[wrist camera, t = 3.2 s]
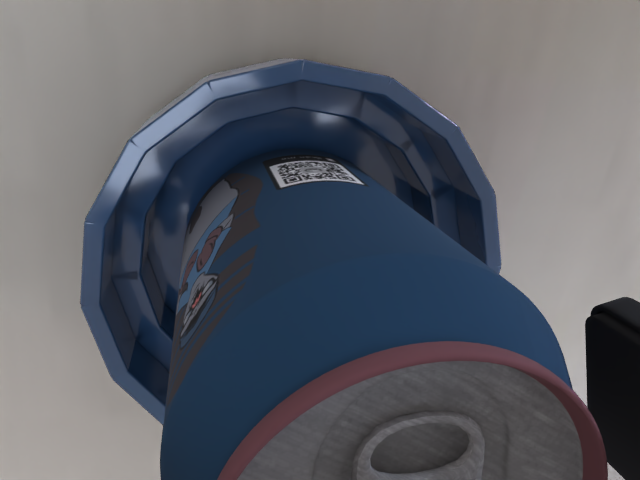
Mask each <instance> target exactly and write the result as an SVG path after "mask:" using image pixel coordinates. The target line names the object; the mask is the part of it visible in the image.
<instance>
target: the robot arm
mask: <svg viewBox="0 0 640 480" xmlns="http://www.w3.org/2000/svg"><path fill="white" fill-rule="evenodd" d="M585 333H586V369H587V406H588V410H589V411H590V413H591V414H592V416H593V418H594V420H595V422H596V424H597V426H598V428H599V431H600V434H601V436H602V439H603V443H604V447H605V451H606V458H607V462H608V463H609V464H610V465H611V466H612V467H613V468H614V469H615V470H616V471H617V472H618V473H619V474H620V475H621V476H622V477H623V478H624V479H625V480H640V303H639V302H637V301H635V300H634V299H631V298H628V297H622V298H619V299H616V300H613V301H610V302H607V303H603V304H600V305H597V306H595V307H594V308H593V309H592V311H591V316H590V317H588V318H587V320H586V324H585Z"/></svg>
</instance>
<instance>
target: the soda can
mask: <svg viewBox="0 0 640 480" xmlns="http://www.w3.org/2000/svg"><path fill="white" fill-rule="evenodd" d="M160 472H161V480H608V469H607V458H606V451H605V447H604V443H603V439H602V436H601V434H600V431H599V428H598V426H597V424H596V422H595V420H594V418H593V416H592V414H591V413H590V411H589V410H588V408H587V407H586V405H585V404H584V403H583V401H582V400H581V399H580V398H579V397H578V395H577V394H576V393H575V392H574V391H573V389H572V385H571V381H570V378H569V374H568V370H567V367H566V363H565V360H564V356H563V353H562V351H561V348H560V346H559V343H558V341H557V338H556V336H555V334H554V332H553V331H552V329H551V327H550V325H549V324H548V322H547V321H546V319H545V318H544V316H543V315H542V313H541V312H540V311H539V310H538V308H537V307H536V306H535V305H534V304H533V303H532V302H531V301H530V300H529V299H528V298H527V297H526V296H525V295H524V294H523V293H522V292H521V291H520V290H518V289H517V288H516V287H515V286H513V285H512V284H511V283H510V282H508V281H507V280H506V279H504V278H503V277H502V276H500V275H499V274H498V273H496V272H495V271H494V270H492V269H491V268H490V267H488V266H487V265H486V264H485V263H483V262H482V261H481V260H479V259H478V258H477V257H475V256H474V255H473V254H471V253H470V252H469V251H467V250H466V249H465V248H463V247H462V246H461V245H459V244H458V243H457V242H456V241H454V240H453V239H452V238H450V237H449V236H448V235H446V234H445V233H444V232H442V231H441V230H440V229H438V228H437V227H436V226H434V225H433V224H432V223H431V222H429V221H428V220H427V219H425V218H424V217H423V216H421V215H420V214H419V213H417V212H416V211H415V210H413V209H412V208H411V207H409V206H408V205H407V204H405V203H404V202H403V201H402V200H400V199H399V198H398V197H396V196H395V195H394V194H392V193H391V192H390V191H388V190H387V189H386V188H384V187H383V186H382V185H380V184H379V183H378V182H377V181H375V180H374V179H373V178H371V177H370V176H369V175H367V174H366V173H365V172H363V171H362V170H361V169H359V168H358V167H356V166H355V165H354V164H352V163H350V162H348V161H347V160H344V159H342V158H340V157H338V156H335V155H333V154H330V153H326V152H322V151H317V150H311V149H296V148H295V149H282V150H275V151H271V152H267V153H263V154H260V155H257V156H255V157H252V158H250V159H248V160H245V161H243V162H241V163H240V164H238V165H236V166H235V167H233V168H232V169H230V170H229V171H227V172H226V173H225V174H224V175H222V176H221V177H220V178H219V179H218V180H217V181H216V182H215V183H214V184H213V185H212V186H211V187H210V188H209V189H208V190H207V192H206V193H205V194H204V195H203V197H202V198H201V200H200V201H199V203H198V204H197V206H196V208H195V210H194V212H193V214H192V216H191V219H190V221H189V224H188V227H187V230H186V235H185V240H184V246H183V255H182V264H181V273H180V282H179V291H178V300H177V309H176V317H175V326H174V335H173V344H172V353H171V362H170V371H169V380H168V389H167V397H166V406H165V415H164V424H163V433H162V442H161V454H160Z"/></svg>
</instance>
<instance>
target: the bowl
mask: <svg viewBox="0 0 640 480" xmlns="http://www.w3.org/2000/svg"><path fill="white" fill-rule="evenodd" d="M295 148H296V149H311V150H317V151H322V152H326V153H330V154H333V155H335V156H338V157H340V158H342V159H344V160H347V161H348V162H350V163H352V164H354V165H355V166H356V167H358V168H359V169H361V170H362V171H363V172H365V173H366V174H367V175H369V176H370V177H371V178H373V179H374V180H375V181H377V182H378V183H379V184H380V185H382V186H383V187H384V188H386V189H387V190H388V191H390V192H391V193H392V194H394V195H395V196H396V197H398V198H399V199H400V200H402V201H403V202H404V203H405V204H407V205H408V206H409V207H411V208H412V209H413V210H415V211H416V212H417V213H419V214H420V215H421V216H423V217H424V218H425V219H427V220H428V221H429V222H431V223H432V224H433V225H434V226H436V227H437V228H438V229H440V230H441V231H442V232H444V233H445V234H446V235H448V236H449V237H450V238H452V239H453V240H454V241H456V242H457V243H458V244H459V245H461V246H462V247H463V248H465V249H466V250H467V251H469V252H470V253H471V254H473V255H474V256H475V257H477V258H478V259H479V260H481V261H482V262H483V263H485V264H486V265H487V266H488V267H490V268H491V269H492V270H494V271H495V272H496V273H498V274H499V273H500V269H501V255H500V243H499V231H498V219H497V207H496V195H495V194H494V193H495V192H494V190H493V188H492V186H491V184H490V183H489V181H488V179H487V177H486V175H485V173H484V172H483V170H482V168H481V166H480V164H479V162H478V161H477V159H476V157H475V155H474V153H473V151H472V150H471V148H470V146H469V144H468V142H467V141H466V139H465V137H464V135H463V133H462V131H461V130H460V128H459V127H458V126H457V124H455V123H454V122H453V121H451V120H450V119H448V118H447V117H446V116H444V115H443V114H442V113H440V112H439V111H438V110H436V109H435V108H433V107H432V106H431V105H429V104H428V103H427V102H425V101H424V100H422V99H421V98H420V97H418V96H417V95H416V94H414V93H413V92H412V91H410V90H409V89H407V88H406V87H405V86H403V85H402V84H401V83H399V82H398V81H396V80H395V79H394V78H390V77H389V76H385V75H380V74H375V73H370V72H365V71H360V70H355V69H350V68H345V67H340V66H335V65H330V64H325V63H320V62H315V61H310V60H305V59H289V58H280V59H275V60H271V61H267V62H262V63H258V64H253V65H249V66H244V67H240V68H236V69H231V70H227V71H222V72H218V73H214V74H209V75H208V76H205V77H204V78H202V79H201V80H200V81H198V82H197V83H196V84H194V85H193V86H192V87H190V88H189V89H188V90H186V91H185V92H184V93H182V94H181V95H180V96H178V97H177V98H176V99H174V100H173V101H171V102H170V103H169V104H167V105H166V106H165V107H163V108H162V109H161V110H159V111H158V112H157V113H155V114H154V115H153V116H151V117H150V118H149V119H147V120H146V121H145V122H144V123H143V125H142V126H141V127H140V128H139V129H138V130H137V131H136V132H135V133H134V134H133V136H132V137H131V138H130V139H129V140H128V141H127V143H126V145H125V147H124V149H123V150H122V152H121V154H120V156H119V158H118V160H117V161H116V163H115V165H114V167H113V169H112V171H111V172H110V174H109V176H108V178H107V180H106V181H105V183H104V185H103V187H102V189H101V191H100V192H99V194H98V196H97V198H96V200H95V202H94V203H93V205H92V207H91V209H90V211H89V213H88V214H87V216H86V218H85V222H84V237H83V257H82V277H81V297H80V304H81V309H82V311H83V313H84V316H85V318H86V320H87V323H88V325H89V327H90V330H91V332H92V334H93V337H94V339H95V341H96V344H97V346H98V348H99V351H100V353H101V355H102V358H103V360H104V362H105V365H106V367H107V369H108V372H109V374H110V376H111V378H112V379H113V380H114V381H115V382H116V383H117V384H118V385H119V386H120V387H121V388H122V389H124V390H125V391H126V392H127V393H128V394H129V395H130V396H131V397H132V398H133V399H135V400H136V401H137V402H138V403H139V404H140V405H141V406H142V407H143V408H145V409H146V410H147V411H148V412H149V413H150V414H151V415H152V416H153V417H155V418H156V419H157V420H158V421H159V422H160V423H161V424H162V425H163V424H164V415H165V406H166V397H167V389H168V380H169V371H170V362H171V353H172V344H173V335H174V326H175V317H176V309H177V300H178V291H179V282H180V273H181V264H182V255H183V246H184V240H185V235H186V230H187V227H188V224H189V221H190V219H191V216H192V214H193V212H194V210H195V208H196V206H197V204H198V203H199V201H200V200H201V198H202V197H203V195H204V194H205V193H206V192H207V190H208V189H209V188H210V187H211V186H212V185H213V184H214V183H215V182H216V181H217V180H218V179H219V178H220V177H221V176H222V175H224V174H225V173H226V172H227V171H229V170H230V169H232V168H233V167H235V166H236V165H238V164H240V163H241V162H243V161H245V160H248V159H250V158H252V157H255V156H257V155H260V154H263V153H267V152H271V151H275V150H282V149H295Z"/></svg>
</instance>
